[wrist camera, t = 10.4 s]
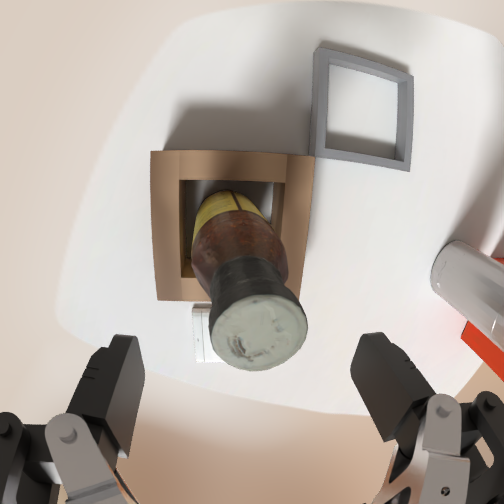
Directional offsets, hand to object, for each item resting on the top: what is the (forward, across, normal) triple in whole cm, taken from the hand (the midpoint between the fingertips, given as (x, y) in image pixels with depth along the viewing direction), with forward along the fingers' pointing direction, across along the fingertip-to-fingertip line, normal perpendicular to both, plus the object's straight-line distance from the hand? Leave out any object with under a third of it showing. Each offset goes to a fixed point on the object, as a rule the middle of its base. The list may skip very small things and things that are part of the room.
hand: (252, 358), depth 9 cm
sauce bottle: (+22, 0, 0) cm, 22 cm away
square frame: (+22, -14, -13) cm, 28 cm away
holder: (+21, 0, 0) cm, 21 cm away
